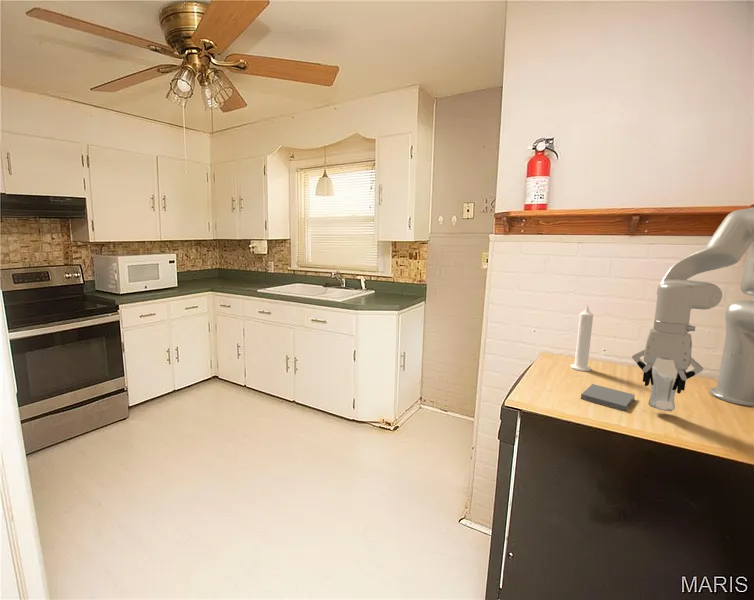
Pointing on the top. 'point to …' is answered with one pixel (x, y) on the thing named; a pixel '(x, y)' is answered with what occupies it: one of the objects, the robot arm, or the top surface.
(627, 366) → the top surface
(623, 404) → the slate coaster
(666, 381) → the beer glass
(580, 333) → the candle
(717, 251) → the robot arm
